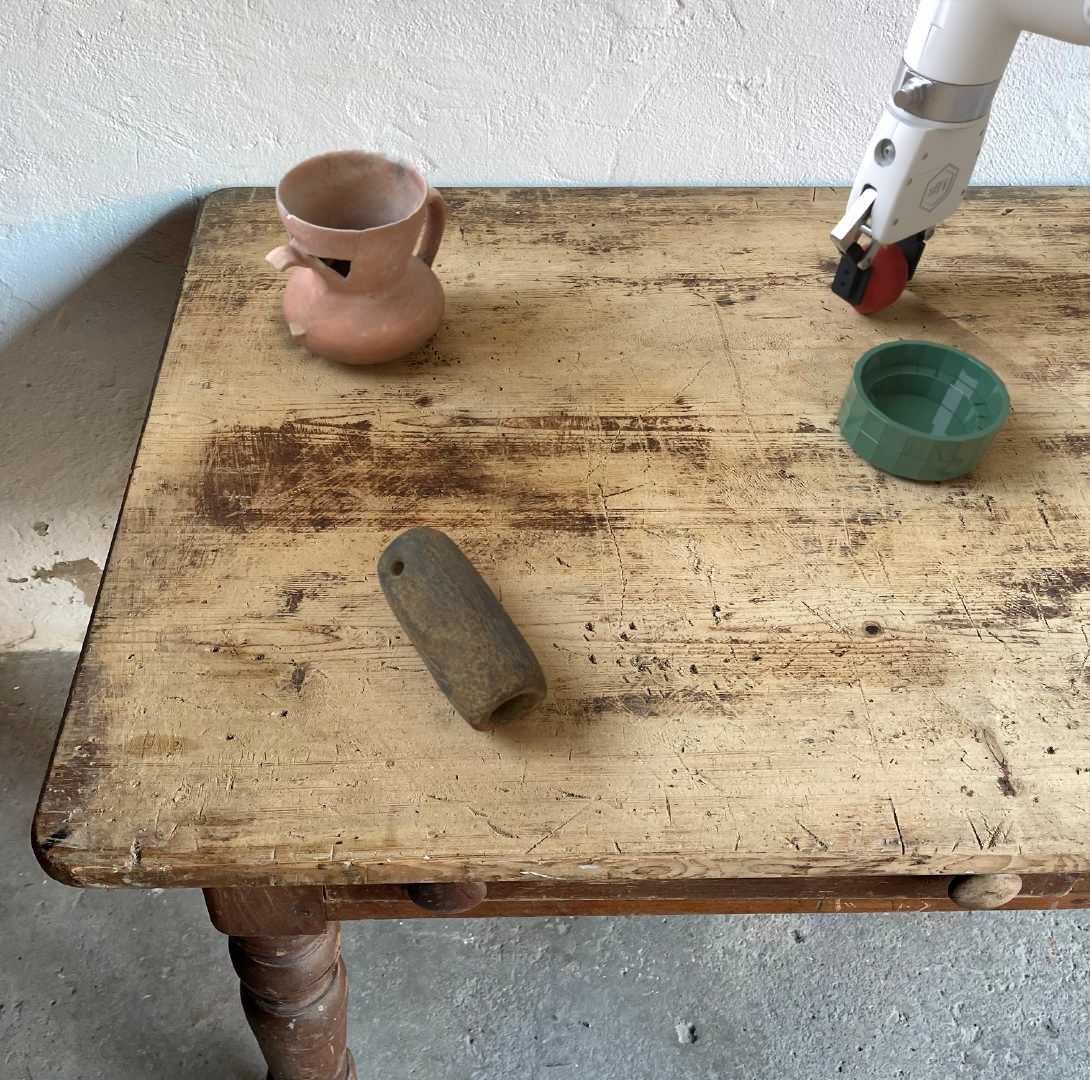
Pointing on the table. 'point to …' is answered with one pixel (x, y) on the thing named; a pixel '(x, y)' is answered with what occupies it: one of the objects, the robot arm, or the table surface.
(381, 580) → the stone weight
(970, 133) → the robot arm
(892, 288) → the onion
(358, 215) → the ceramic jug
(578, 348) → the table surface
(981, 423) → the bowl
